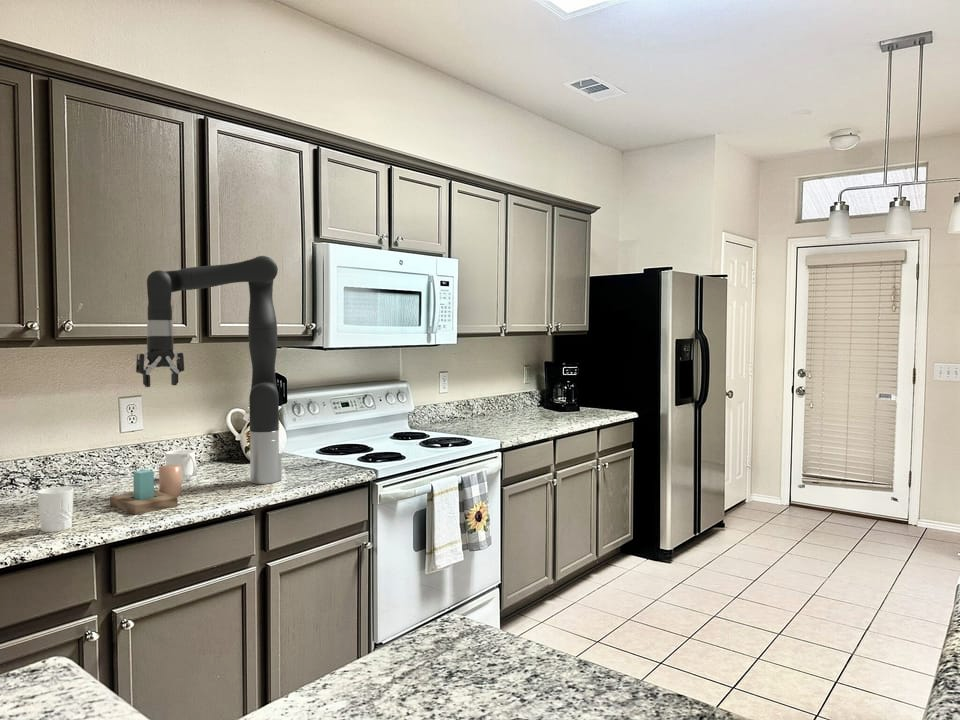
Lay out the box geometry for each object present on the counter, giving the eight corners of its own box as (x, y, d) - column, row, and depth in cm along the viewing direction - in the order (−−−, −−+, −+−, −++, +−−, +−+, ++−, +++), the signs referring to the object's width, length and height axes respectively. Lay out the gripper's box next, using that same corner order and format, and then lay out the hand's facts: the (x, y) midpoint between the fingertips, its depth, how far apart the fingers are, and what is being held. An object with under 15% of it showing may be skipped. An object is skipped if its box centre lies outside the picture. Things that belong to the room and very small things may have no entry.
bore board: (151, 497, 210) (151, 489, 209) (177, 506, 200) (177, 497, 199) (109, 505, 200) (109, 496, 200) (135, 514, 190) (135, 505, 190)
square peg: (147, 503, 203) (147, 469, 202) (154, 505, 200) (153, 471, 200) (133, 505, 200) (133, 471, 199) (140, 508, 197) (139, 473, 197)
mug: (161, 479, 235) (160, 452, 235) (186, 474, 242) (185, 448, 242) (179, 484, 228) (178, 456, 227) (204, 479, 235) (204, 452, 234)
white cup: (76, 523, 182) (75, 485, 181) (72, 531, 175) (71, 491, 174) (41, 526, 179) (40, 488, 178) (35, 534, 171) (34, 494, 171)
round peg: (175, 492, 217) (174, 463, 216) (185, 495, 213) (184, 466, 212) (155, 495, 212) (155, 466, 211) (165, 499, 208) (165, 469, 207)
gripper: (176, 334, 225) (176, 384, 226) (131, 334, 214) (132, 386, 215) (187, 334, 220) (188, 385, 221) (143, 334, 209) (143, 388, 210)
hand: (161, 386), depth 218 cm, fingers open, 8 cm apart
